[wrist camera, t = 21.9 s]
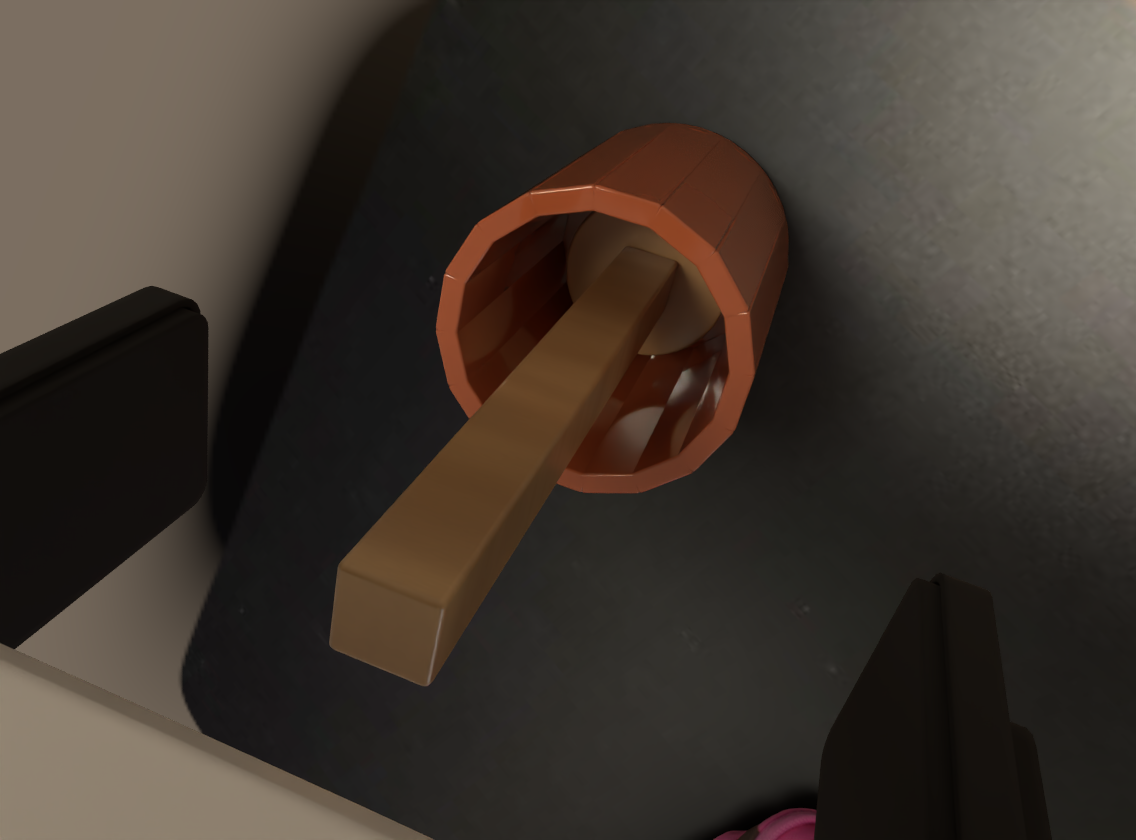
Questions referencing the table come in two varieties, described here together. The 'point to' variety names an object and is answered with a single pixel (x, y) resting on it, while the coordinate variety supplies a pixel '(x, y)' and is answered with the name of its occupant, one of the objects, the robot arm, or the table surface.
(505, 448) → the wooden post with base
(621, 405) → the crock
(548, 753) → the table surface
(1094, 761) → the table surface
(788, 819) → the pencil case
